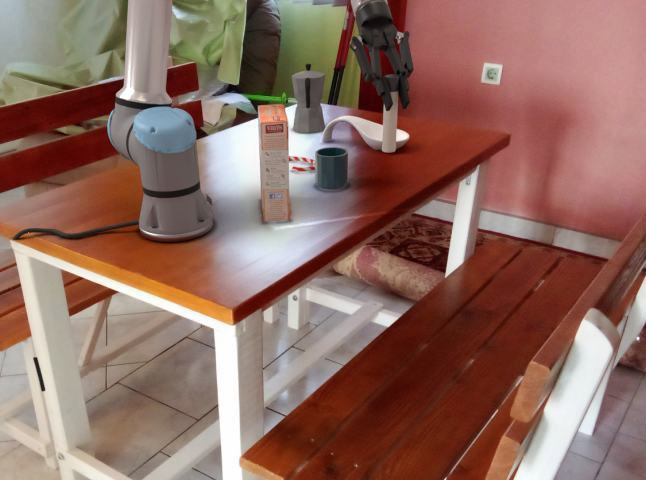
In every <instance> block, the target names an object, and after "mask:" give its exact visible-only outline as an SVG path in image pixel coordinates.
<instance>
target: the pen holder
mask: <svg viewBox="0 0 646 480" xmlns="http://www.w3.org/2000/svg"><path fill="white" fill-rule="evenodd" d="M314 160H315V172H314V173H315V174H314V175H315V177H314V178H315V187H317V188H319V189H323V190H338V189H342V188H345V187H347V186H348V182H349V150H348V149H347V148H344V147H337V146H327V147H323V148H320V149H319V148H318V149H317V150H316V151H315V152H314Z"/></svg>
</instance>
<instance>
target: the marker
mask: <svg viewBox="0 0 646 480" xmlns="http://www.w3.org/2000/svg"><path fill="white" fill-rule="evenodd" d="M384 77H386V79H387V83H388V86H389V90H390V93H391V97H392V100H393V105H392V107H391V109H390V111H386V109H385V105H384V104H383V111H382V113H383V116H382V125H383V138H382V150H381V152H383V153H388V154H389V153H395V152H396V150H397V149H396V133H397V129H398V113H399V111H398V109H399V94H398V92H399V75H396V74H395V73H393V74H391V73H390V74H386V75H384Z"/></svg>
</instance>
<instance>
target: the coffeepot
mask: <svg viewBox="0 0 646 480" xmlns="http://www.w3.org/2000/svg"><path fill="white" fill-rule="evenodd" d="M304 66H305V70H302V71H299V72H296V73H294V74H292V75H291V81H292V87H293V88H292V89H293V93H294V100H295V101H296V107H295V112H294V117H293V118H294V119H293V125H292V129H293V131H294V132H296V133H299V134H317V133H320V132H322V131H324V130H325V128H326V125H325V119H324V112H323V106H322V105H321V100H322V99H323V95H324V87H325V79H326V74H325V73H323V72H322V71H317V70H311V69H312V64H311V63H306V64H304Z"/></svg>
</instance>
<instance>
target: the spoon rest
mask: <svg viewBox="0 0 646 480" xmlns="http://www.w3.org/2000/svg"><path fill="white" fill-rule="evenodd" d="M340 123H348V124H350V125H351V126H352V127H354V129H356V131H357V133H358V134H359V135H360V136H361V138H362V139H363V140H364V142H365V144H367V145H368V146H369V147H370V148H371V149H372V150H373V151H382V138H383V124H380V123H377V122H374V121H371V120H368V119H365V118H361V117H358V116H354V115H341V116H339V117H337V118H335V119H333V120H332V121H329V123H328V124H326V125H325V128H324V130H323V132H322V135H321V136H322V137H321V142H322V143H326V142H329V141H331V140H332V138H333V131H334V128H335V126H337V125H338V124H340ZM409 139H410V134H409V133H408V132H407V131H404V130H402V129H399V128H397V133H396V150H397V149H399V148H401V147H403V146H404V145H405V144H406V143H407V142H408V141H409Z"/></svg>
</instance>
